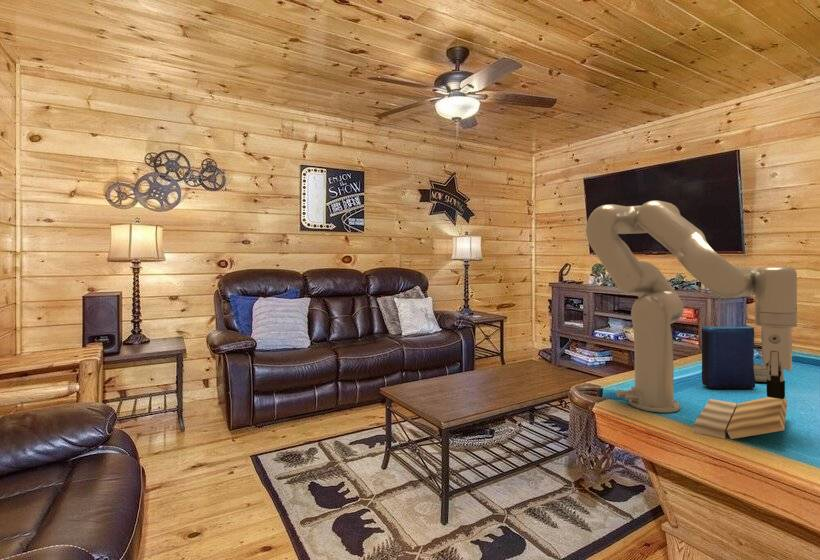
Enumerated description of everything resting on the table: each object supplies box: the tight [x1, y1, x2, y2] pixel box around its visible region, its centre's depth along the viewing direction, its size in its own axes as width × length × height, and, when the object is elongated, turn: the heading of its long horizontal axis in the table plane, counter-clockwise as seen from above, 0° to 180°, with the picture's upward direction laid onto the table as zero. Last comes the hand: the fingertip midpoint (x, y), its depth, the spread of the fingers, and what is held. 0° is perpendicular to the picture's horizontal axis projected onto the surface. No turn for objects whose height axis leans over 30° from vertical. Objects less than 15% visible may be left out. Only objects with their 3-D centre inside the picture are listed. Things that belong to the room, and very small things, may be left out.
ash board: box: [693, 398, 738, 439], centre depth 109 cm, size 24×6×2 cm, turn 137°
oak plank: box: [727, 396, 788, 440], centre depth 103 cm, size 24×10×2 cm, turn 137°
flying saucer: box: [754, 362, 768, 383], centre depth 146 cm, size 15×15×6 cm
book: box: [701, 324, 756, 389], centre depth 135 cm, size 14×5×20 cm, turn 84°
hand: (775, 397), depth 101 cm, fingers closed
